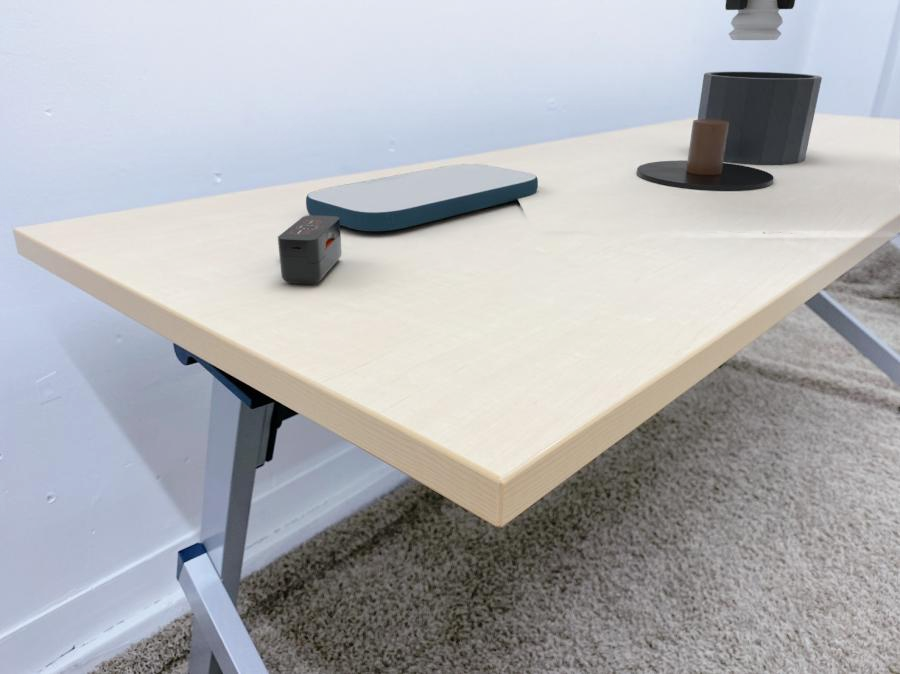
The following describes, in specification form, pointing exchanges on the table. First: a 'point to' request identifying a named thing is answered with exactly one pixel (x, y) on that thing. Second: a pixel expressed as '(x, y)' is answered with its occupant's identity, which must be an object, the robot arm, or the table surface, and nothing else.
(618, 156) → the table surface
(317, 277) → the dark grey box
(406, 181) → the grey flat rounded slab
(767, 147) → the pot
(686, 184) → the lid
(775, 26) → the rook chess piece
